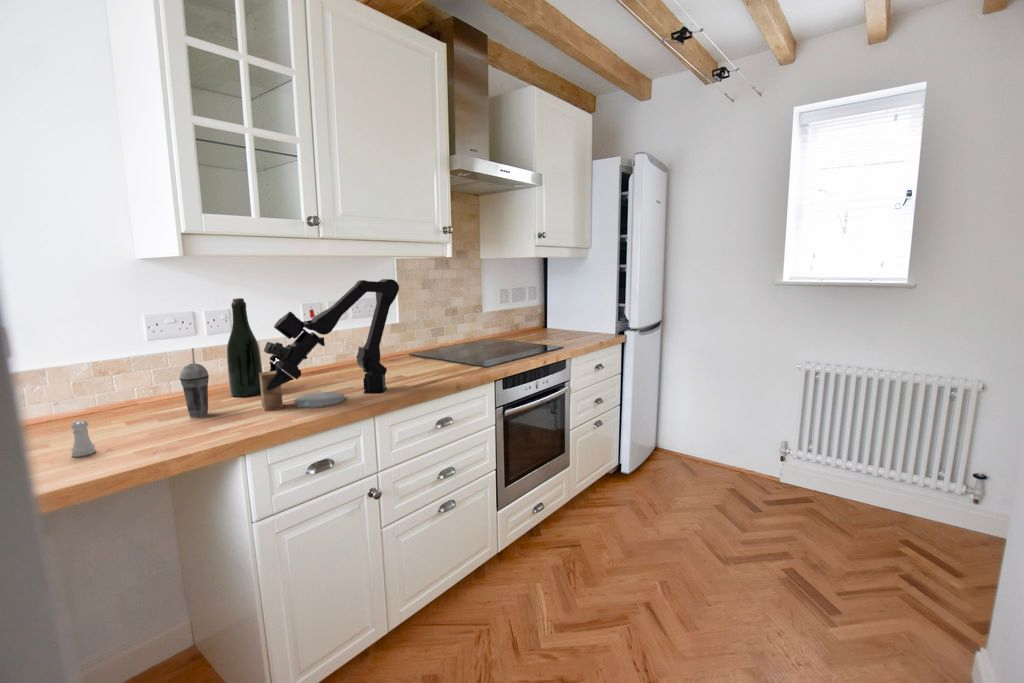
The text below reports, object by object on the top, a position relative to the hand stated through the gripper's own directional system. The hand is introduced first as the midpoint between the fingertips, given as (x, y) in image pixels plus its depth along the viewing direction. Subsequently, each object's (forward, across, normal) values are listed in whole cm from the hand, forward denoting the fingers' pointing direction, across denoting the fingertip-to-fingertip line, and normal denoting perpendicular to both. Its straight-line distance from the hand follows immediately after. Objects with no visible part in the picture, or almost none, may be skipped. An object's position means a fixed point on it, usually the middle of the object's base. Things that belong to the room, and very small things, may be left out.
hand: (265, 387), depth 150 cm
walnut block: (+4, 0, +6) cm, 7 cm away
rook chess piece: (+34, +14, -25) cm, 45 cm away
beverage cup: (+17, -5, -8) cm, 20 cm away
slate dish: (-6, +2, +15) cm, 17 cm away
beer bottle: (+6, -24, +3) cm, 26 cm away
